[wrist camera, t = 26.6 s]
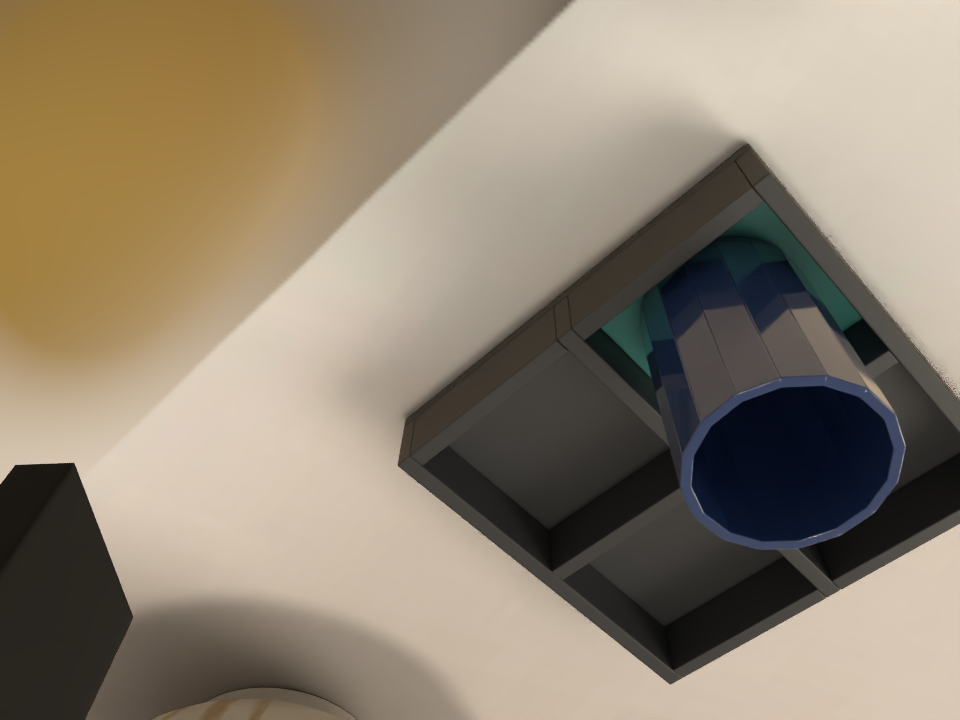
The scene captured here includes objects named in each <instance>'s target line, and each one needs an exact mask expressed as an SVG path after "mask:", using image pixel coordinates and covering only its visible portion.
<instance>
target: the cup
mask: <svg viewBox="0 0 960 720" xmlns="http://www.w3.org/2000/svg"><path fill="white" fill-rule="evenodd" d="M640 327H641V338H642V342H643V346H644V350H645V354H646V358H647V362H648V366H649V369H650V373H651V377H652V381H653V385H654V389H655V393H656V397H657V401H658V405H659V409H660V412H661V416H662V420H663V424H664V428H665V432H666V436H667V440H668V444H669V448H670V452H671V456H672V459H673V463H674V467H675V471H676V475H677V479H678V483H679V487H680V490H681V492H682V494H683V496H684V498H685V500H686V502H687V505H688V507H689V509H690V511H691V513H692V515H693V517H694V518H695V519H696V520H697V521H699V522H700V523H701V524H703V525H704V526H705V527H707V528H708V529H709V530H711V531H712V532H713V533H714V534H716V535H717V536H718V537H720V538H721V539H723V540H726V541H730V542H733V543H737V544H740V545H744V546H748V547H751V548H755V549H760V550H766V549H799V548H803V547H806V546H810V545H813V544H816V543H819V542H822V541H825V540H828V539H832V538H835V537H838V536H840V535H842V534H844V533H845V532H847V531H848V530H850V529H851V528H853V527H854V526H856V525H857V524H859V523H860V522H862V521H863V520H865V519H866V518H868V517H869V516H870V515H872V514H873V513H875V512H876V511H877V509H878V508H879V507H880V505H881V504H882V503H883V501H884V500H885V499H886V497H887V496H888V495H889V493H890V492H891V491H892V489H893V488H894V487H895V485H896V484H897V483H898V481H899V477H900V472H901V468H902V463H903V459H904V454H905V450H906V444H905V441H904V437H903V434H902V431H901V428H900V425H899V421H898V418H897V415H896V413H895V412H894V410H893V408H892V407H891V405H890V404H889V402H888V401H887V399H886V398H885V396H884V395H883V393H882V392H881V390H880V389H879V387H878V386H877V384H876V382H875V381H874V379H873V378H872V376H871V375H870V373H869V372H868V370H867V369H866V367H865V366H864V364H863V363H862V361H861V359H860V358H859V356H858V355H857V353H856V352H855V350H854V349H853V347H852V346H851V344H850V343H849V341H848V340H847V338H846V337H845V335H844V333H843V332H842V330H841V329H840V327H839V326H838V324H837V323H836V321H835V320H834V318H833V317H832V315H831V314H830V312H829V310H828V309H827V307H826V306H825V304H824V303H823V301H822V300H821V298H820V297H819V295H818V294H817V292H816V291H815V289H814V288H813V286H812V284H811V283H810V281H809V280H808V278H807V277H806V275H805V274H804V272H803V271H802V270H801V269H800V268H799V267H798V266H797V265H796V263H795V262H794V261H793V260H792V259H791V258H790V256H789V255H787V254H786V253H785V252H784V251H782V250H781V249H780V248H778V247H776V246H775V245H773V244H771V243H768V242H766V241H764V240H760V239H757V238H753V237H746V236H721V237H717V238H716V239H715V240H713V241H712V242H711V243H710V244H708V245H707V246H706V247H704V248H703V249H702V250H701V251H699V252H698V253H697V254H695V255H694V256H693V257H692V258H690V259H689V260H688V261H686V262H685V263H684V264H682V265H681V266H680V267H679V268H677V269H676V270H675V271H673V272H672V273H671V274H670V275H668V276H667V277H666V278H664V279H663V280H662V281H661V282H659V283H658V284H657V285H655V286H654V287H653V288H651V289H650V290H649V291H648V292H646V293H645V294H644V296H643V299H642V303H641V308H640Z"/></svg>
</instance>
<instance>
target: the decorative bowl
mask: <svg viewBox="0 0 960 720" xmlns="http://www.w3.org/2000/svg"><path fill="white" fill-rule="evenodd" d="M150 720H356V719H355V718H354V717H353V716H351V715H350V714H349V713H347V712H346V711H344V710H343V709H341V708H340V707H338V706H336V705H334V704H332V703H330V702H328V701H326V700H324V699H321V698H319V697H316V696H313V695H310V694H306V693H303V692H299V691H294V690H288V689H280V688H249V689H242V690H236V691H232V692H228V693H225V694H222V695H219V696H217V697H215V698H213V699H211V700H209V701H207V702H205V703H200V704H196V705H191V706H187V707H184V708H180V709H177V710H173V711H171V712H168V713H165V714H162V715H160V716H157V717H154V718H152V719H150Z"/></svg>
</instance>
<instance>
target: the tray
mask: <svg viewBox="0 0 960 720" xmlns="http://www.w3.org/2000/svg"><path fill="white" fill-rule="evenodd" d="M721 236H746V237H753V238H757V239H760V240H764V241H766V242H768V243H771V244H773V245H775V246H776V247H778V248H780V249H781V250H782V251H784V252H785V253H786V254H787V255H789V256H790V258H791V259H792V260H793V261H794V262H795V263H796V265H797V266H798V267H799V268H800V269H801V270H802V271H803V272H804V274H805V275H806V277H807V278H808V280H809V281H810V283H811V284H812V286H813V288H814V289H815V291H816V292H817V294H818V295H819V297H820V298H821V300H822V301H823V303H824V304H825V306H826V307H827V309H828V310H829V312H830V314H831V315H832V317H833V318H834V320H835V321H836V323H837V324H838V326H839V327H840V329H841V330H842V332H843V333H844V335H845V337H846V338H847V340H848V341H849V343H850V344H851V346H852V347H853V349H854V350H855V352H856V353H857V355H858V356H859V358H860V359H861V361H862V363H863V364H864V366H865V367H866V369H867V370H868V372H869V373H870V375H871V376H872V378H873V379H874V381H875V382H876V384H877V386H878V387H879V389H880V390H881V392H882V393H883V395H884V396H885V398H886V399H887V401H888V402H889V404H890V405H891V407H892V408H893V410H894V412H895V413H896V415H897V418H898V421H899V425H900V428H901V431H902V434H903V437H904V441H905V444H906V450H905V454H904V459H903V463H902V468H901V472H900V477H899V481H898V483H897V484H896V485H895V487H894V488H893V489H892V491H891V492H890V493H889V495H888V496H887V497H886V499H885V500H884V501H883V503H882V504H881V505H880V507H879V508H878V509H877V511H876V512H875V513H873V514H872V515H870V516H869V517H868V518H866V519H865V520H863V521H862V522H860V523H859V524H857V525H856V526H854V527H853V528H851V529H850V530H848V531H847V532H845V533H844V534H842V535H840V536H838V537H835V538H832V539H828V540H825V541H822V542H819V543H816V544H813V545H810V546H806V547H803V548H799V549H766V550H760V549H755V548H751V547H748V546H744V545H740V544H737V543H733V542H730V541H726V540H723V539H721V538H720V537H718V536H717V535H716V534H714V533H713V532H712V531H711V530H709V529H708V528H707V527H705V526H704V525H703V524H701V523H700V522H699V521H697V520H696V519H695V518H694V517H693V515H692V513H691V511H690V509H689V507H688V505H687V502H686V500H685V498H684V496H683V494H682V492H681V490H680V487H679V483H678V479H677V475H676V471H675V467H674V463H673V459H672V456H671V452H670V448H669V444H668V440H667V436H666V432H665V428H664V424H663V420H662V416H661V412H660V409H659V405H658V401H657V397H656V393H655V389H654V385H653V381H652V377H651V373H650V369H649V366H648V362H647V358H646V354H645V350H644V346H643V342H642V338H641V327H640V308H641V303H642V299H643V296H644V294H645V293H646V292H648V291H649V290H650V289H651V288H653V287H654V286H655V285H657V284H658V283H659V282H661V281H662V280H663V279H664V278H666V277H667V276H668V275H670V274H671V273H672V272H673V271H675V270H676V269H677V268H679V267H680V266H681V265H682V264H684V263H685V262H686V261H688V260H689V259H690V258H692V257H693V256H694V255H695V254H697V253H698V252H699V251H701V250H702V249H703V248H704V247H706V246H707V245H708V244H710V243H711V242H712V241H713V240H715V239H716V238H717V237H721ZM398 466H399V467H400V468H401V469H402V470H404V471H405V472H406V473H407V474H409V475H410V476H411V477H412V478H414V479H415V480H416V481H417V482H419V483H420V484H421V485H422V486H424V487H425V488H426V489H427V490H429V491H430V492H431V493H432V494H434V495H435V496H436V497H437V498H439V499H440V500H441V501H442V502H444V503H445V504H446V505H447V506H449V507H450V508H451V509H452V510H454V511H455V512H456V513H457V514H458V515H460V516H461V517H462V518H463V519H465V520H466V521H467V522H468V523H470V524H471V525H472V526H473V527H475V528H476V529H477V530H478V531H480V532H481V533H482V534H483V535H485V536H486V537H487V538H488V539H490V540H491V541H492V542H493V543H495V544H496V545H497V546H498V547H500V548H501V549H502V550H503V551H505V552H506V553H507V554H508V555H510V556H511V557H512V558H513V559H515V560H516V561H517V562H518V563H520V564H521V565H522V566H523V567H524V568H526V569H527V570H528V571H529V572H531V573H532V574H533V575H534V576H536V577H537V578H538V579H539V580H541V581H542V582H543V583H544V584H546V585H547V586H548V587H549V588H551V589H552V590H553V591H554V592H556V593H557V594H558V595H559V596H561V597H562V598H563V599H564V600H566V601H567V602H568V603H569V604H571V605H572V606H573V607H574V608H576V609H577V610H578V611H579V612H581V613H582V614H583V615H584V616H586V617H587V618H588V619H589V620H590V621H592V622H593V623H594V624H595V625H597V626H598V627H599V628H600V629H602V630H603V631H604V632H605V633H607V634H608V635H609V636H610V637H612V638H613V639H614V640H615V641H617V642H618V643H619V644H620V645H622V646H623V647H624V648H625V649H627V650H628V651H629V652H630V653H632V654H633V655H634V656H635V657H637V658H638V659H639V660H640V661H642V662H643V663H644V664H645V665H647V666H648V667H649V668H650V669H652V670H653V671H654V672H655V673H656V674H658V675H659V676H660V677H661V678H663V679H664V680H665V681H666V682H668V683H669V684H672V683H674V682H676V681H678V680H680V679H681V678H683V677H685V676H687V675H688V674H690V673H692V672H694V671H696V670H697V669H699V668H701V667H703V666H705V665H706V664H708V663H710V662H712V661H714V660H715V659H717V658H719V657H721V656H723V655H724V654H726V653H728V652H730V651H732V650H733V649H735V648H737V647H739V646H741V645H742V644H744V643H746V642H748V641H750V640H751V639H753V638H755V637H757V636H759V635H760V634H762V633H764V632H766V631H768V630H769V629H771V628H773V627H775V626H777V625H778V624H780V623H782V622H784V621H786V620H787V619H789V618H791V617H793V616H795V615H796V614H798V613H800V612H802V611H804V610H805V609H807V608H809V607H811V606H813V605H814V604H816V603H818V602H820V601H822V600H823V599H825V598H826V597H829V596H830V595H832V594H834V593H836V592H838V591H839V590H840V589H843V588H845V587H847V586H848V585H850V584H852V583H854V582H856V581H857V580H859V579H861V578H863V577H865V576H866V575H868V574H870V573H872V572H874V571H875V570H877V569H879V568H881V567H883V566H884V565H886V564H888V563H890V562H892V561H893V560H895V559H897V558H899V557H901V556H902V555H904V554H906V553H908V552H910V551H911V550H913V549H915V548H917V547H919V546H920V545H922V544H924V543H926V542H928V541H929V540H931V539H933V538H935V537H937V536H938V535H940V534H942V533H944V532H946V531H947V530H949V529H951V528H953V527H955V526H956V525H958V524H960V400H959V399H958V398H957V396H956V395H955V394H954V393H953V391H952V390H951V389H950V388H949V387H948V385H947V384H946V383H945V382H944V381H943V379H942V378H941V377H940V376H939V374H938V373H937V372H936V371H935V370H934V368H933V367H932V366H931V365H930V364H929V362H928V361H927V360H926V359H925V357H924V356H923V355H922V354H921V353H920V351H919V350H918V349H917V348H916V346H915V345H914V344H913V343H912V342H911V340H910V339H909V338H908V337H907V336H906V334H905V333H904V332H903V331H902V329H901V328H900V327H899V326H898V325H897V323H896V322H895V321H894V320H893V319H892V317H891V316H890V315H889V314H888V312H887V311H886V310H885V309H884V308H883V306H882V305H881V304H880V303H879V301H878V300H877V299H876V298H875V297H874V295H873V294H872V293H871V292H870V291H869V289H868V288H867V287H866V286H865V284H864V283H863V282H862V281H861V280H860V278H859V277H858V276H857V275H856V273H855V272H854V271H853V270H852V269H851V267H850V266H849V265H848V264H847V263H846V261H845V260H844V259H843V258H842V256H841V255H840V254H839V253H838V252H837V250H836V249H835V248H834V247H833V246H832V244H831V243H830V242H829V241H828V239H827V238H826V237H825V236H824V235H823V233H822V232H821V231H820V230H819V228H818V227H817V226H816V225H815V224H814V222H813V221H812V220H811V219H810V218H809V216H808V215H807V214H806V213H805V211H804V210H803V209H802V208H801V207H800V205H799V204H798V203H797V202H796V201H795V199H794V198H793V197H792V196H791V194H790V193H789V192H788V191H787V190H786V188H785V187H784V186H783V185H782V183H781V182H780V181H779V180H778V179H777V177H776V176H775V175H774V174H773V173H772V171H771V170H770V169H769V168H768V166H767V165H766V164H765V163H764V162H763V160H762V159H761V158H760V157H759V155H758V154H757V153H756V152H755V151H754V149H753V148H752V147H751V146H750V145H749V144H746V145H745V146H743V147H742V148H741V149H740V150H739V151H737V152H736V153H735V154H734V155H732V156H731V157H730V158H729V159H727V160H726V161H725V162H724V163H722V164H721V165H720V166H719V167H718V168H716V169H715V170H714V171H713V172H711V173H710V174H709V175H708V176H706V177H705V178H704V179H703V180H701V181H700V182H699V183H698V184H697V185H695V186H694V187H693V188H692V189H690V190H689V191H688V192H687V193H685V194H684V195H683V196H682V197H680V198H679V199H678V200H677V201H676V202H674V203H673V204H672V205H671V206H669V207H668V208H667V209H666V210H664V211H663V212H662V213H661V214H660V215H658V216H657V217H656V218H655V219H653V220H652V221H651V222H650V223H648V224H647V225H646V226H645V227H643V228H642V229H641V230H640V231H639V232H637V233H636V234H635V235H634V236H632V237H631V238H630V239H629V240H627V241H626V242H625V243H624V244H622V245H621V246H620V247H619V248H618V249H616V250H615V251H614V252H613V253H611V254H610V255H609V256H608V257H606V258H605V259H604V260H603V261H601V262H600V263H599V264H598V265H597V266H595V267H594V268H593V269H592V270H590V271H589V272H588V273H587V274H585V275H584V276H583V277H582V278H581V279H579V280H578V281H577V282H576V283H574V284H573V285H572V286H571V287H569V288H568V289H567V290H566V291H564V292H563V293H562V294H561V295H560V296H558V297H557V298H556V299H555V300H553V301H552V302H551V303H550V304H548V305H547V306H546V307H545V308H543V309H542V310H541V311H540V312H539V313H537V314H536V315H535V316H534V317H532V318H531V319H530V320H529V321H527V322H526V323H525V324H524V325H522V326H521V327H520V328H519V329H518V330H516V331H515V332H514V333H513V334H511V335H510V336H509V337H508V338H506V339H505V340H504V341H503V342H502V343H500V344H499V345H498V346H497V347H495V348H494V349H493V350H492V351H490V352H489V353H488V354H487V355H485V356H484V357H483V358H482V359H481V360H479V361H478V362H477V363H476V364H474V365H473V366H472V367H471V368H469V369H468V370H467V371H466V372H464V373H463V374H462V375H461V376H460V377H458V378H457V379H456V380H455V381H453V382H452V383H451V384H450V385H448V386H447V387H446V388H445V389H443V390H442V391H441V392H440V393H439V394H437V395H436V396H435V397H434V398H432V399H431V400H430V401H429V402H427V403H426V404H425V405H424V406H423V407H421V408H420V409H419V410H418V411H416V412H415V413H414V414H413V415H411V416H410V417H409V418H408V419H406V421H405V427H404V432H403V438H402V443H401V449H400V455H399V461H398Z"/></svg>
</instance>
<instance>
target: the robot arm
mask: <svg viewBox="0 0 960 720" xmlns="http://www.w3.org/2000/svg"><path fill="white" fill-rule="evenodd" d="M132 619H133V615H132V612H131V610H130V607H129V605H128V602H127V599H126V597H125V594H124V592H123V589H122V586H121V584H120V581H119V579H118V576H117V573H116V571H115V568H114V566H113V563H112V560H111V558H110V555H109V552H108V550H107V547H106V545H105V542H104V539H103V537H102V534H101V532H100V529H99V526H98V524H97V521H96V519H95V516H94V513H93V511H92V508H91V506H90V503H89V500H88V498H87V495H86V492H85V490H84V487H83V485H82V482H81V479H80V477H79V474H78V472H77V469H76V466H75V464H74V463H58V464H32V465H15V466H14V468H13V469H12V471H10V473H9V474H8V475H7V477H6V478H5V479H4V481H3V482H2V483H1V484H0V720H85V719H86V716H87V714H88V712H89V710H90V708H91V706H92V704H93V702H94V700H95V697H96V695H97V693H98V691H99V689H100V687H101V685H102V683H103V681H104V678H105V676H106V674H107V672H108V670H109V668H110V666H111V664H112V662H113V659H114V657H115V655H116V653H117V651H118V649H119V647H120V645H121V643H122V640H123V638H124V636H125V634H126V632H127V630H128V628H129V626H130V623H131V621H132Z"/></svg>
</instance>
